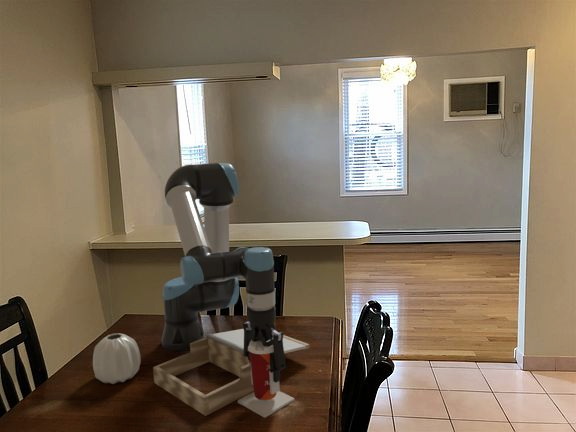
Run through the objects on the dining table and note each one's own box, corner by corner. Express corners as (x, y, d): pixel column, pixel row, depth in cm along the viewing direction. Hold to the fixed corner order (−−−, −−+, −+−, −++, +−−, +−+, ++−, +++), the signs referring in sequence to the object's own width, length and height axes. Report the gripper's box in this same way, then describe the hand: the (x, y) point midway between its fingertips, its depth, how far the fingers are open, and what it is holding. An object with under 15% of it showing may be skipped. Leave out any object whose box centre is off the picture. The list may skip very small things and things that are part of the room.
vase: (128, 363, 154) (125, 324, 152) (149, 376, 144) (145, 335, 142) (86, 378, 144) (82, 337, 142) (105, 394, 135) (101, 350, 133)
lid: (207, 348, 153) (206, 334, 152) (257, 328, 168) (257, 315, 167) (259, 373, 135) (258, 356, 134) (310, 348, 150) (309, 333, 149)
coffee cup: (276, 403, 122) (274, 349, 120) (246, 401, 124) (243, 348, 121) (283, 387, 130) (281, 336, 128) (255, 385, 132) (252, 335, 129)
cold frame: (154, 382, 140) (152, 357, 139) (210, 359, 154) (208, 336, 153) (205, 416, 121) (203, 387, 120) (263, 385, 136) (262, 359, 134)
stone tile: (237, 402, 127) (237, 400, 127) (267, 386, 135) (267, 384, 135) (264, 417, 120) (264, 415, 119) (294, 400, 127) (294, 398, 127)
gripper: (226, 302, 128) (231, 380, 131) (276, 319, 114) (280, 406, 117) (247, 295, 133) (251, 370, 136) (298, 310, 119) (301, 394, 122)
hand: (265, 387), depth 127 cm, fingers closed on coffee cup, 7 cm apart
